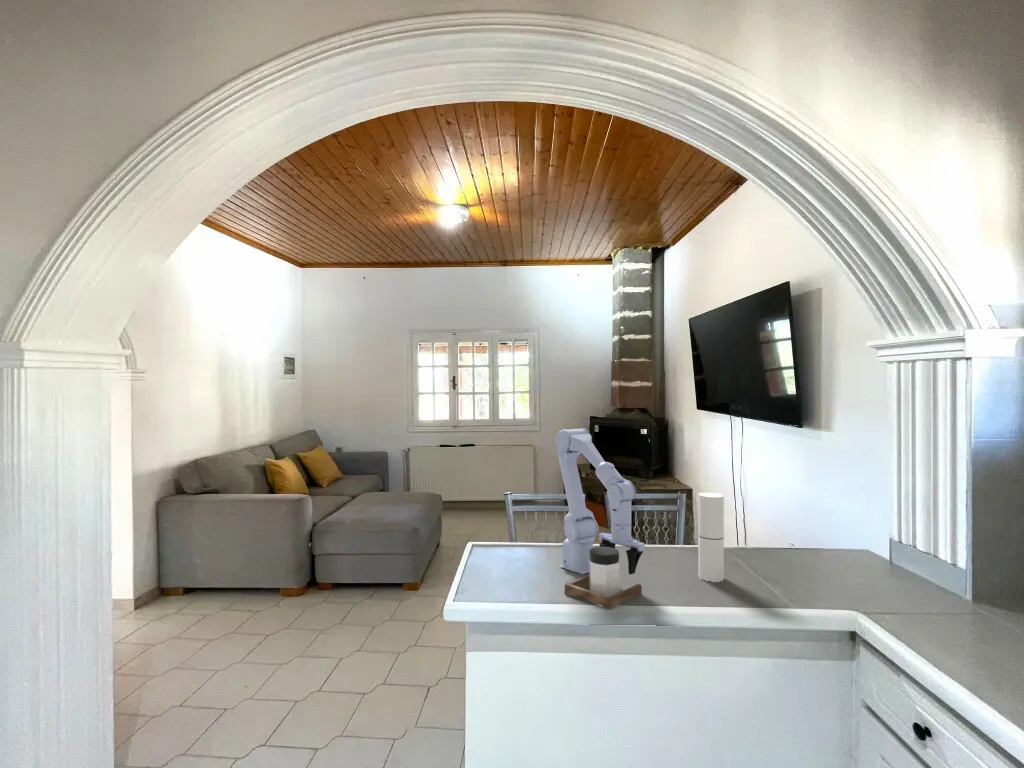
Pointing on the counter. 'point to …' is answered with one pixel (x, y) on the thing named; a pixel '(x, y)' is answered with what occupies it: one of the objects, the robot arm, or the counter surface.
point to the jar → (604, 571)
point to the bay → (578, 591)
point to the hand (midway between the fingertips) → (620, 570)
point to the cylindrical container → (711, 537)
